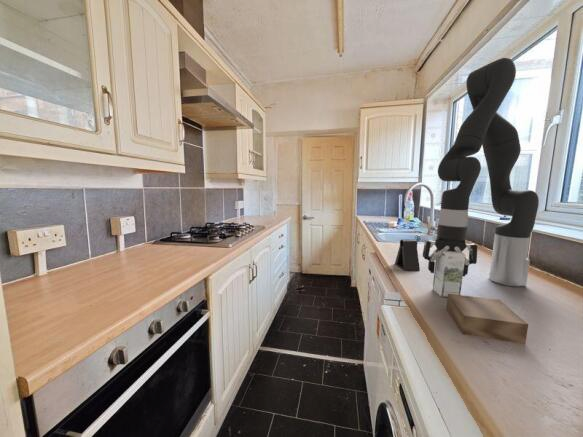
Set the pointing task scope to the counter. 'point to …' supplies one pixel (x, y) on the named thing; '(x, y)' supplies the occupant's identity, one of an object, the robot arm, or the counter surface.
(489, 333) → the walnut block
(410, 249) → the phone stand
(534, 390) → the counter surface
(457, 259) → the syrup box
